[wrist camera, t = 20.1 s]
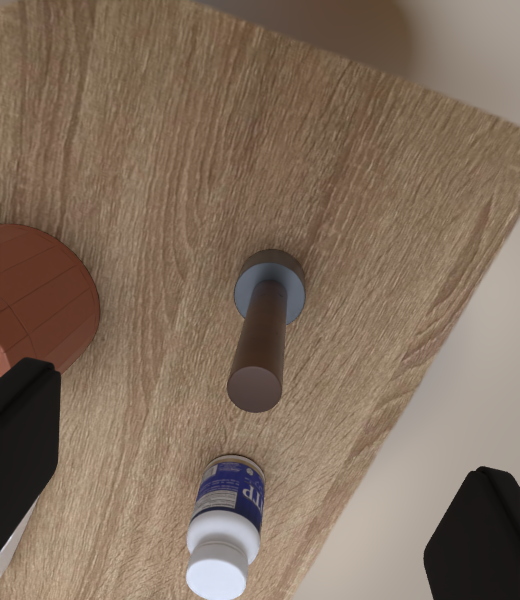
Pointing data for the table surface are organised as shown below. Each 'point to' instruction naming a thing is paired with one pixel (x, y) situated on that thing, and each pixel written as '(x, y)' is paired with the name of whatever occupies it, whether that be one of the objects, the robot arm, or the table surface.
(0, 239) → the jar
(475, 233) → the table surface
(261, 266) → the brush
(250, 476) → the pill bottle
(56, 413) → the robot arm
